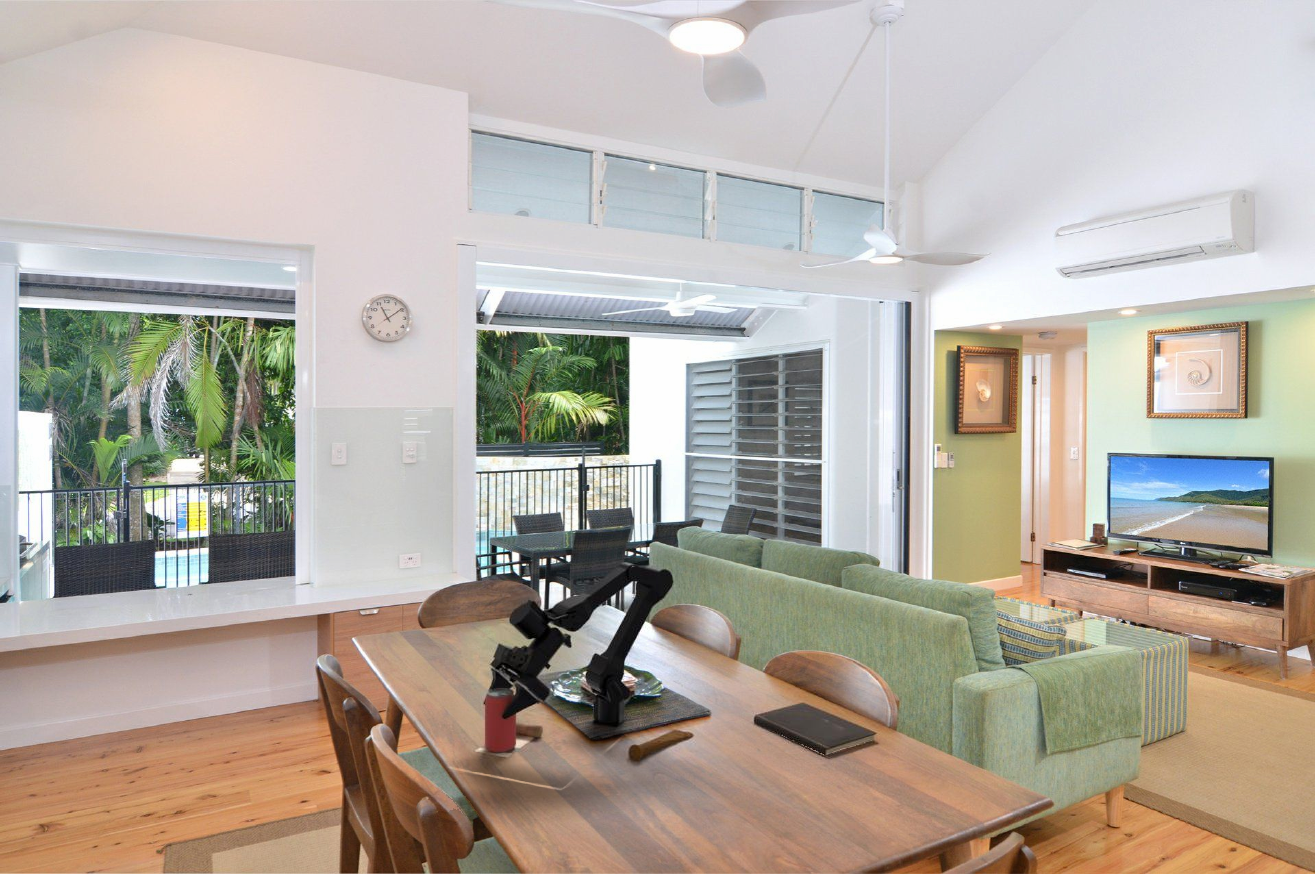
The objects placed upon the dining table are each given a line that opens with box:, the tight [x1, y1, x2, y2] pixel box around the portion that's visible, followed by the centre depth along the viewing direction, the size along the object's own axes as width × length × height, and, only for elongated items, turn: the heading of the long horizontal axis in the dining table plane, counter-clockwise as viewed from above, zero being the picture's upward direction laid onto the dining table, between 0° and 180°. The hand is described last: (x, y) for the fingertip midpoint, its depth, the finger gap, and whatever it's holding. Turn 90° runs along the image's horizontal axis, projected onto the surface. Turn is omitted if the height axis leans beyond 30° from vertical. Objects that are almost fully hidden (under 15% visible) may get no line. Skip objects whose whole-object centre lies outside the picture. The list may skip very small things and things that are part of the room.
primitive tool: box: [627, 729, 695, 762], centre depth 178 cm, size 19×6×4 cm, turn 146°
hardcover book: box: [753, 702, 877, 755], centre depth 187 cm, size 16×23×2 cm
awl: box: [516, 721, 544, 738], centre depth 184 cm, size 12×2×2 cm, turn 68°
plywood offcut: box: [474, 734, 536, 758], centre depth 179 cm, size 8×15×1 cm, turn 158°
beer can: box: [484, 688, 517, 753], centre depth 175 cm, size 7×7×12 cm
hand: (493, 711), depth 174 cm, fingers open, 9 cm apart
